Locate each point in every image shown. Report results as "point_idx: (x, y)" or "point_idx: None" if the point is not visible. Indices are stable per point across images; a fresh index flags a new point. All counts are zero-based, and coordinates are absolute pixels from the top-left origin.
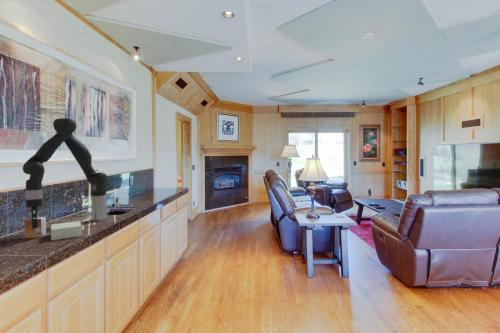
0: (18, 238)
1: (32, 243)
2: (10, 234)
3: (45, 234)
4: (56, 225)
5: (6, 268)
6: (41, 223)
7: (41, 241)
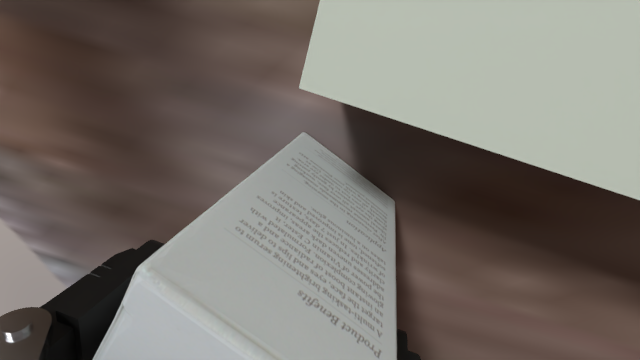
0: None
1: (575, 329)
2: None
3: (314, 140)
4: (524, 45)
5: None
6: (392, 326)
7: (593, 261)
